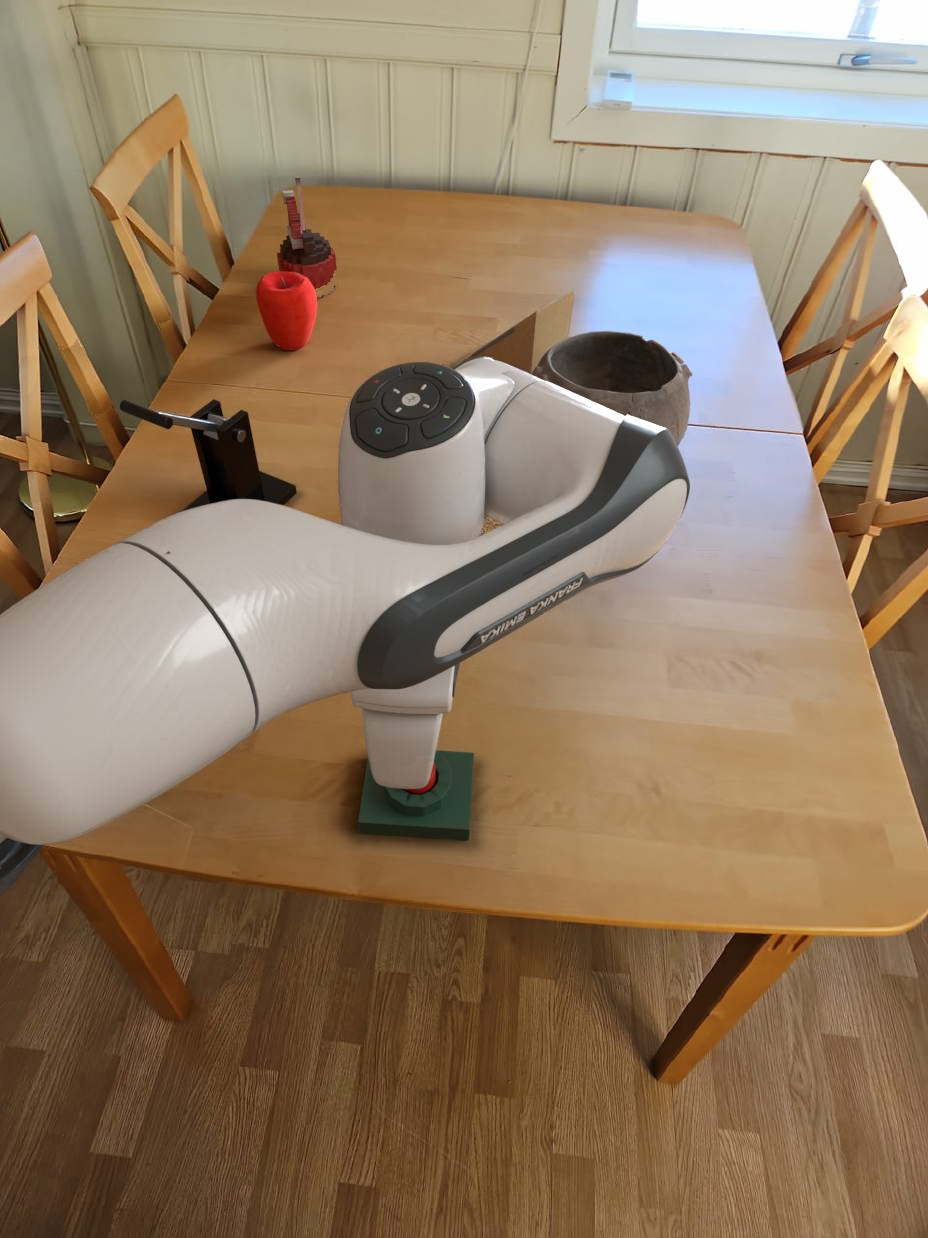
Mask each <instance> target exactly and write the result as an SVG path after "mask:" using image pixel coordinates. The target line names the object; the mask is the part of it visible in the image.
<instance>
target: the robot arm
mask: <svg viewBox="0 0 928 1238" xmlns="http://www.w3.org/2000/svg"><path fill="white" fill-rule="evenodd" d="M456 364H457V363H456ZM456 364H454V365H455V366H454V365H452V366H450V367H449V366H447V365H444V364H440V363H436V362H430V361H429V362H428V361H412V362H410V361H409V362H403V363H398V364H395V365H392V366H390V367H386V368H384V369H381V370H380V371H378V372H376V373H374V374H372V375H370V377H369V378H367V379H366V380H365V381H363V382H362V383H361V384H360V385H359V386H358V387H357V388H356V389H355V391H354V393H353V394H352V396H351V397H350V398H349V401H348V404H347V407H346V409H345V413H344V415H343V421H342V424H341V430H340V435H339V444H338V455H337V486H338V487H337V489H338V504H339V514H340V521H341V522H340V523H341V524H340V523H337V522H335V521H331V520H328V519H326V518H325V519H324V518H322V517H320V516H316V515H313V514H310V513H308V512H305V511H302V510H299V509H297V508H294V507H290V506H288V505H280V504H275V503H271V502H266V501H261V500H253V499H233V500H226V501H221V502H216V503H212V504H207V505H203V506H199V507H195V508H192V509H188V510H185V511H182V510H181V511H182V512H181V511H179V512H176V513H174V514H171V515H169V516H166V517H164V518H162V519H159V520H158V521H155V522H154V523H152V524H150V525H147V526H146V527H143V528H142V529H140V530H138V531H136V532H135V533H132V534H131V535H129V536H127V537H125V538H123V539H121V540H119V541H117V542H116V543H114V544H112V545H110V546H108V547H107V548H105V549H102V550H101V551H99V552H97V553H95V554H93V555H91V556H90V557H88V558H86V559H84V560H82V561H81V562H78V563H77V564H75V565H74V566H72V567H70V568H69V569H67V570H66V571H64V572H62V573H60V574H59V575H57V576H55V577H53V578H52V579H50V580H49V581H47V582H45V583H44V584H42V586H40V587H38V588H37V589H35V590H34V591H32V592H31V593H29V594H28V595H26V596H25V597H23V598H22V599H20V600H19V601H17V602H16V603H15V604H12V606H10V607H9V608H7V609H6V610H5V611H3V612H2V613H1V614H0V897H2V896H3V895H4V894H5V893H6V892H7V891H8V890H9V889H10V888H11V887H12V886H13V885H14V884H15V883H16V882H17V881H18V879H19V878H20V877H21V876H22V874H23V873H24V872H25V870H26V869H27V867H28V866H29V865H30V863H31V862H32V861H33V860H34V859H35V858H36V857H37V855H39V853H40V852H41V850H43V848H44V846H48V845H58V844H63V843H67V842H71V841H73V840H76V839H78V838H82V837H84V836H86V835H88V834H90V833H91V832H94V831H95V830H97V829H100V828H102V827H103V826H106V825H107V824H110V823H111V822H114V821H116V820H118V819H120V818H122V817H124V816H126V815H127V814H130V813H131V812H133V811H135V810H137V809H138V808H140V807H142V806H144V805H145V804H147V803H149V802H151V801H153V800H154V799H156V798H158V797H159V796H161V795H163V794H165V793H166V792H168V791H170V790H171V789H173V788H174V787H176V786H178V785H180V784H181V783H183V782H185V781H186V780H188V779H190V778H191V777H193V776H194V775H195V774H197V773H198V772H200V771H202V770H203V769H204V768H206V767H208V766H210V764H212V763H214V762H215V761H217V760H218V759H219V758H221V757H222V756H224V755H226V753H228V752H229V751H231V750H232V749H233V748H235V747H236V746H237V745H239V744H240V743H241V742H243V741H244V740H246V739H247V738H249V737H250V736H251V735H253V734H254V733H256V731H258V730H260V729H261V728H262V727H264V726H265V725H267V724H268V723H270V722H272V721H274V720H276V719H277V718H280V717H281V716H283V715H286V714H287V713H289V712H291V711H294V710H296V709H299V708H301V707H304V706H306V705H310V704H312V703H315V702H317V701H321V700H324V699H327V698H331V697H335V696H338V695H342V694H347V693H350V698H351V703H352V706H353V707H354V708H359V709H362V725H363V736H364V742H365V748H366V752H367V759H368V758H369V763H370V767H371V772H372V775H373V778H374V780H375V782H376V783H377V784H379V785H381V786H384V787H390V788H399V789H419V788H423V787H425V786H426V785H427V784H428V782H429V779H430V776H431V772H432V768H433V763H434V758H435V753H436V750H437V747H438V742H439V737H440V732H441V726H442V720H443V716H444V714H449V713H450V712H451V711H452V709H453V707H452V706H453V698H454V697H455V694H456V686H457V679H458V674H459V670H460V666H461V663H462V662H465V661H466V660H467V659H470V658H471V657H473V656H474V655H476V654H478V653H480V652H482V651H483V650H485V649H486V648H489V647H490V646H492V645H494V644H495V643H497V642H499V641H500V640H502V639H504V638H505V637H507V636H509V635H510V634H512V633H514V632H515V631H517V630H519V629H521V628H523V627H524V626H526V625H527V624H529V623H530V622H533V621H534V620H536V619H538V618H540V617H541V616H543V615H544V614H546V613H548V612H549V611H551V610H553V609H555V608H556V607H558V606H560V605H561V604H563V603H564V602H567V601H568V600H570V599H571V598H573V597H575V596H577V595H578V594H580V593H581V592H583V591H586V590H587V589H589V588H591V587H593V586H596V585H598V584H601V583H605V582H608V581H611V580H614V579H617V578H619V577H622V576H625V575H628V574H630V573H631V572H635V571H636V570H638V569H640V568H641V567H643V566H644V565H645V564H647V563H648V562H649V561H650V560H652V559H653V557H654V556H655V555H656V554H657V553H658V552H659V551H660V550H661V548H662V547H664V545H665V543H666V542H667V541H668V540H669V539H670V537H671V535H672V534H673V532H674V530H675V528H676V527H677V525H678V523H679V521H680V520H681V518H682V515H683V513H684V511H685V509H686V505H687V503H688V499H689V495H690V489H691V484H690V478H689V473H688V470H687V467H686V464H685V461H684V458H683V456H682V453H681V451H680V448H679V445H678V446H677V444H676V442H675V440H674V438H673V436H672V434H671V432H670V431H669V429H667V428H664V427H661V426H658V425H655V424H652V423H649V422H647V421H644V420H641V419H638V418H635V417H632V416H630V415H626V416H623V415H621V414H619V413H617V412H615V411H612V410H610V409H608V408H606V407H604V406H601V405H599V404H597V403H595V402H593V401H590V400H588V399H586V398H584V397H581V396H579V395H577V394H575V393H573V392H570V391H568V390H566V389H564V388H562V387H559V386H557V385H555V384H553V383H551V382H548V381H544V380H542V379H540V378H538V377H536V376H533V375H531V374H529V373H527V372H524V371H522V370H520V369H517V368H515V367H513V366H511V365H508V364H506V363H503V362H500V361H497V360H493V359H491V358H488V357H476V358H472V359H469V360H466V361H463V362H461V363H459V364H457V365H456ZM489 519H491V520H493V521H495V522H497V523H498V524H500V526H498V527H496V528H493V529H491V530H490V531H488V532H486V533H483V534H482V531H483V527H484V524H486V523H488V522H489Z"/></svg>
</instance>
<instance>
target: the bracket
mask: <svg viewBox="0 0 928 1238" xmlns="http://www.w3.org/2000/svg"><path fill="white" fill-rule="evenodd" d="M208 414H213V415H218V416H222V417H224V413H223V407H222V404H221V401H220V400H217V399H214V398H213V399H211V400H210V401H209V402H208V403H206V404H205V405H203V406H202V407H201V408H200V409H198V410H196V412H194V413H193V414H192V415H190V416H189V417H192V418H197V419H202V420H207V418H208ZM216 431H217V436H218V440H217V439H214V438H212V437H209V436H207V435H204V434H203V433H204V430H199V429H193V428H190V432H191V434H192V439H193V442H194V447H195V450H196V454H197V458H198V461H199V466H200V470H201V474H202V476H203V481H204V484H205V488H206V490H205V491H204V492H202V493H201V494H200V495H199V496H198V497H196V498H195V499H194V500H193V501H192V502H191V503H189V504H188V505H187V506H186V507H185V508H183V510H181V511H180V512H182V511H185V510H188V509H192V508H195V507H199V506H203V505H207V504H212V503H216V502H221V501H226V500H233V499H253V500H261V501H266V502H271V503H275V504H280V505H284V506H286V504H287V503H288V502H289V501H290V500H291V499H292V498H293V497H294V496H296V495H297V493H298V492H297V486H296V484H293V483H291V482H288V481H286V480H283V479H281V478H279V477H276V476H273V475H272V474H271V475H270V474H268V473H266V472H263V471H261V470H260V467H259V461H258V457H257V452H256V446H255V442H254V437H253V431H252V427H251V421H250V417H249V412H248V411H245V410H243V409H240V410H239V411H237V412H235V414H233V415H232V416H231V417H230V418H228V420H227V421H226V422H225V423H223V424H222V425H221V426H219V427H218V428H217V429H216Z"/></svg>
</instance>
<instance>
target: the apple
mask: <svg viewBox="0 0 928 1238" xmlns="http://www.w3.org/2000/svg"><path fill="white" fill-rule="evenodd" d="M255 302H256V304H257V308H258V311H259V314H260V318H261V320H262V322H263V325H264V328H265V330H266V332H267V334H268V337H270V339H271V341H272V342H273V344H275V345H276V344H277V345H276V347H277V348H279V349H282V350H286V351H299V350H300V349H302V348H304V347H305V346H306V345H307V344H308V343H309V341H310V340H311V339H310V338H311V336H312V333H313V330H314V326H315V322H316V317H317V312H318V297H317V296H316V292H315V289H314V287H313V285H312V284H311V282H310V281H309V279H308V278H306V277H304V276H302V275H300V274H298V273H295V272H288V271H279V270H278V271H277V270H276V271H271V272H269V273H267V274H265V275H263V276H262V277H261V278H260V279H259V280H258V282H257V284H256V287H255ZM306 342H307V343H306ZM278 345H279V346H278Z"/></svg>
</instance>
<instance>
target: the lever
mask: <svg viewBox="0 0 928 1238" xmlns="http://www.w3.org/2000/svg"><path fill="white" fill-rule="evenodd" d="M119 409H120V411H121V412H124V413H126V414H128V415H132V416H133V417H135V418H138V419H140V420H143V421H145V422H148V423H150V424H153V425H156V426H158V427H161V428H163V429H165V430H170V429H171V428H172V427H173V426H177V427H182V428H188V429H191V428H193V429H199V430H204V433H203V434H204V435H207V436H209V437H212V438H214V439H217V440H218V436H217V431H216V429H217V428H218V427H219V426H221V425H222V424H223V423H225V422H226V421H227V420H228V419H229V417H226V416H223V417H222V416H218V415H213V414H208V418H207V420H202V419H197V418H192V417H190V416H187V415H181V414H176V413H171V412H165V411H160V410H156V409H150V408H147V407H145V406H142V405H140V404H138V403H135V402H132V401H130V400H128V399H123V400H122V401H120V403H119Z"/></svg>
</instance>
